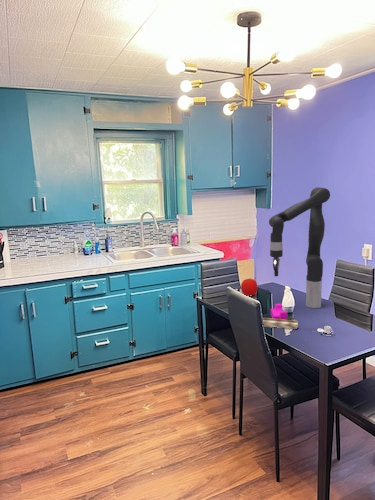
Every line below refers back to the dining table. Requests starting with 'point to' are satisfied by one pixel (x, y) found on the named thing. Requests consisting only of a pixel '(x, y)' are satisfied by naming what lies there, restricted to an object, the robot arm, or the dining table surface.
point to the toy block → (279, 312)
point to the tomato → (249, 287)
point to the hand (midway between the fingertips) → (276, 276)
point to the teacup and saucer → (325, 329)
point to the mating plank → (280, 323)
